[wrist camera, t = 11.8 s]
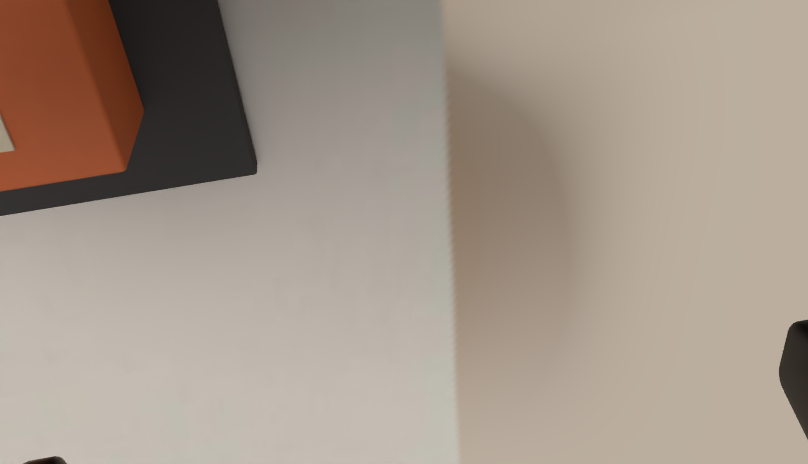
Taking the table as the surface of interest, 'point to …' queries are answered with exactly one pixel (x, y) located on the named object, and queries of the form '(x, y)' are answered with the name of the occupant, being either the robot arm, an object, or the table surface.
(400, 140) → the table surface
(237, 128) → the word mat
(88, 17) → the orange block
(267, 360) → the table surface
